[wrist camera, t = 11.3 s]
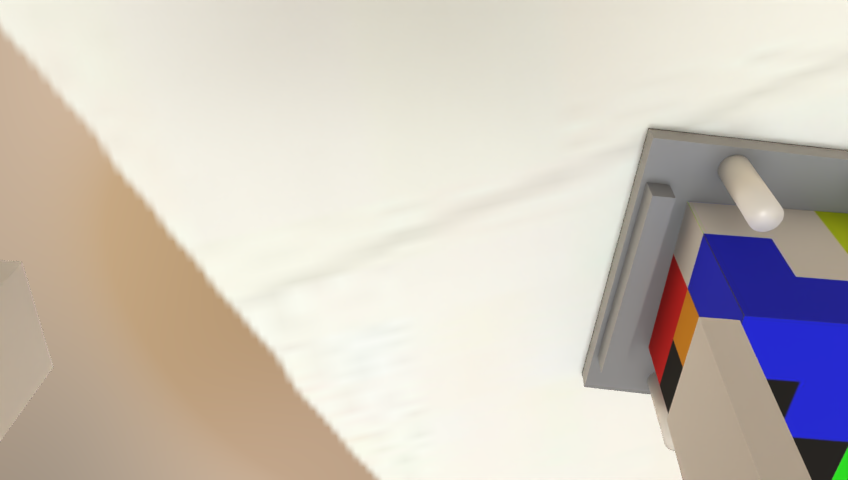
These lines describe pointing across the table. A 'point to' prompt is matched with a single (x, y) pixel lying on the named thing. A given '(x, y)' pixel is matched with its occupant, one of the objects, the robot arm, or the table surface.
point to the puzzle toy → (769, 315)
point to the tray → (660, 224)
